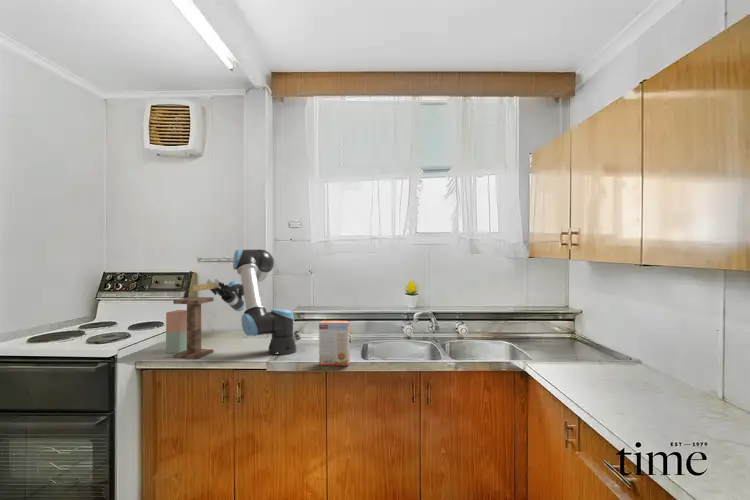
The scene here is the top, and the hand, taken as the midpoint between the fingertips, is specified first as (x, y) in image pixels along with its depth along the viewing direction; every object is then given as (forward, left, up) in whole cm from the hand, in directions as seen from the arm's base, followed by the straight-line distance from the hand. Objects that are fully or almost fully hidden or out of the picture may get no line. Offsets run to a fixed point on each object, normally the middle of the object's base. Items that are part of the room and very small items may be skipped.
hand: (211, 281), depth 226 cm
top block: (+14, +9, -27) cm, 32 cm away
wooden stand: (0, +16, -38) cm, 42 cm away
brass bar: (0, +3, -4) cm, 5 cm away
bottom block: (+14, +9, -38) cm, 42 cm away
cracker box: (-79, +22, -38) cm, 91 cm away
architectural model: (-74, -27, -39) cm, 88 cm away
